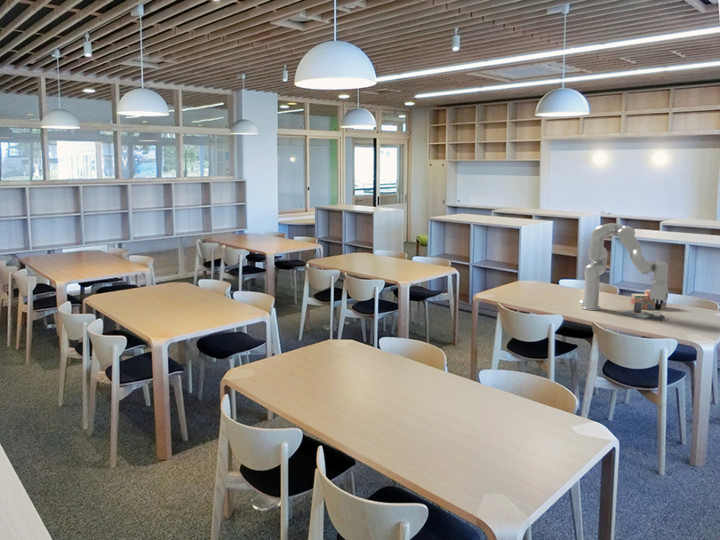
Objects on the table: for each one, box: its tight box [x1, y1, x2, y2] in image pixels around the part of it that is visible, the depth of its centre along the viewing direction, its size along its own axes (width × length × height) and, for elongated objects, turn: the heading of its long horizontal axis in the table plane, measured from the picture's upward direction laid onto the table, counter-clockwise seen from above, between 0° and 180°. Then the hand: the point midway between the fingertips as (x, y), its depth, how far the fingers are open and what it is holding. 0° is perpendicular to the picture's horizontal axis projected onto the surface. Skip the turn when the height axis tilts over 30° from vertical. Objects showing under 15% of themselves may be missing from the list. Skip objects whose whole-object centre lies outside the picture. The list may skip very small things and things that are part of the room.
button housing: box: [648, 313, 666, 321], centre depth 380 cm, size 7×7×2 cm
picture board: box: [620, 309, 653, 320], centre depth 391 cm, size 17×14×1 cm
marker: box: [633, 298, 642, 313], centre depth 393 cm, size 5×5×9 cm
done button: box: [652, 311, 662, 317], centre depth 380 cm, size 5×5×2 cm
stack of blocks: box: [630, 289, 667, 310], centre depth 408 cm, size 21×6×12 cm, turn 85°
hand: (657, 309), depth 379 cm, fingers closed
